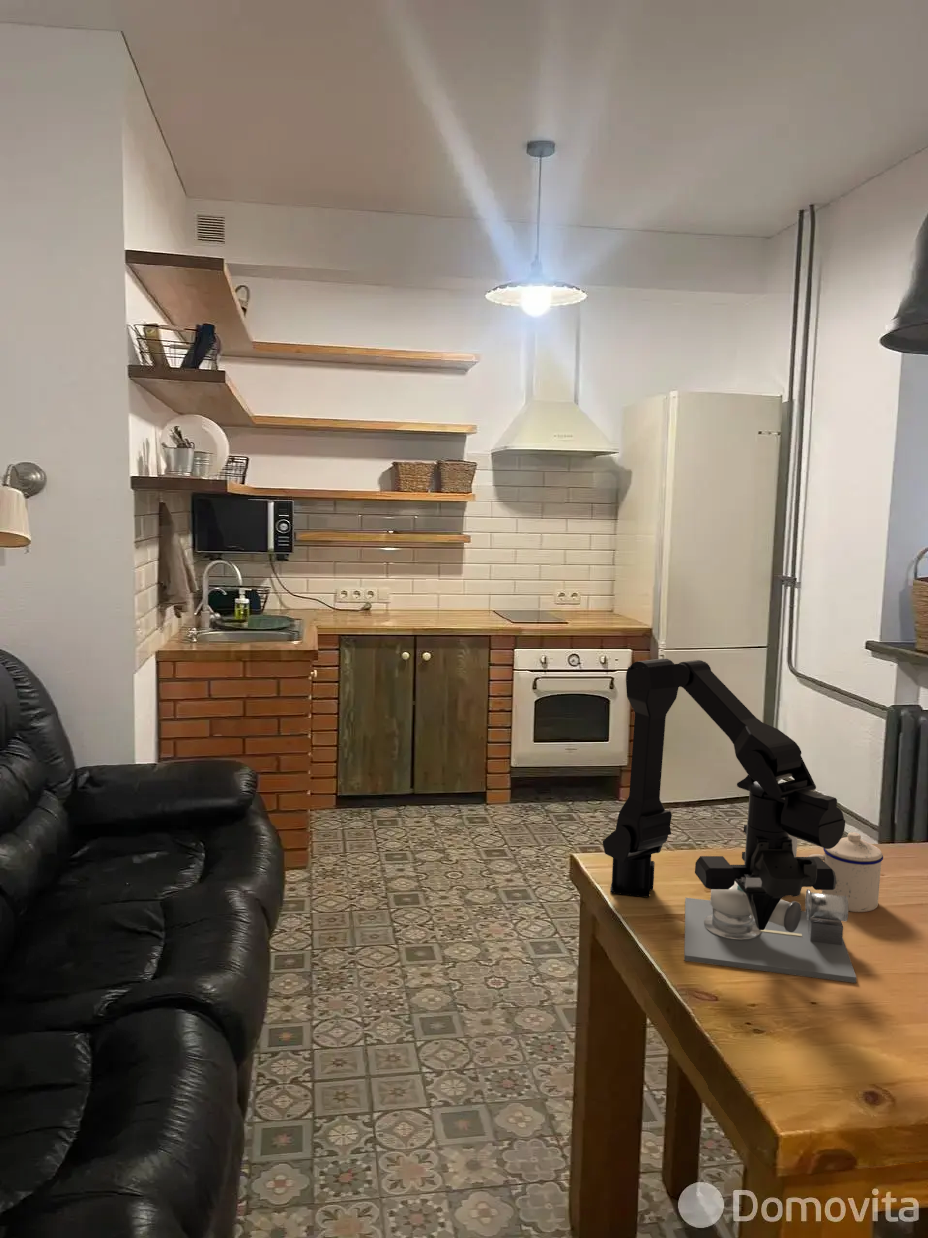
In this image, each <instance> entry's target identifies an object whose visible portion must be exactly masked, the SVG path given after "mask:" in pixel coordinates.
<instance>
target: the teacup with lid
mask: <svg viewBox="0 0 928 1238" xmlns="http://www.w3.org/2000/svg"><path fill="white" fill-rule="evenodd" d="M822 848H823V847H822ZM823 852H824V854H820V853H812V854H810V855H807V857H819V858H820V859H822V860H823V861H824V862H825V863H826V864H827V865H828V866H829V867H830V868H832V870H833V871H834V872H835V875H836V886H835V889H834V890H821V894H830V895H839V896H847V899H848V912H854V913H864V912H865V913H866V912H871V911H875V909H876V908H877V907H878V905H879V893H880V883H881V882H880V881H881V871H882V870H881V869H882V868H881V867H882V861H883V860H884V854H883V852H882V851H881V849H880V848H879V847H877V846H875V845H874V844H872V843H869V842H867V841H866V840H864V839H862V835H861V834H859V833H858V832H854V831H852V832H848V834H847V836H845V837H842V838H841V839H840V841H839V842H838V844H837V845H836V846H834V847H833V848H831V849H825V848H823Z"/></svg>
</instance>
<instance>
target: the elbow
mask: <svg viewBox="0 0 928 1238" xmlns="http://www.w3.org/2000/svg"><path fill="white" fill-rule="evenodd" d="M709 900H710V904H711V906H712V907H713V908H714V909H716V910H718V911H720V912H723V913H726V914H730V915H739V916H743V915H752V916H753V913H752V910H751V906H750V903H749V900H748V897H747V895H746V893H745V892H744V891H743V890H742V889H741V888H740V886H739V885H738V884H737V883H736V882H735V883H734V885H733V886H732V887H731V888H730V889H710V899H709ZM801 911H802V905H801V903H800V902H799V901H796V900H793V901H791V902H789V901H786V900H785V899H781V900H780V901H779V903H778V904H777V906H776V907H775V909H774V911H773V913H772V915H771V917H770V919H769V922H772V923H775V924H777V925H780V926H783V927H785V930H786V931H788V932H794V931H795V930H796V928H797V926H798V924H799V922H800V918H801Z"/></svg>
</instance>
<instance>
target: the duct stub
mask: <svg viewBox="0 0 928 1238" xmlns="http://www.w3.org/2000/svg"><path fill="white" fill-rule="evenodd" d="M704 926H705V928H706V929H707V930H708V931H709V932H711V933H712V934H714V935H717V936H719V937H722V938H726V939H731V940H750V939H754V938H756V937H758V936H759V935H760V933H761V930H759V929H758V928H757V925H756V922H755V921H753V916H752V915H743V916H739V915H730V914H726V913H723V912H720V911H718V910H716V909H714V908H713V912H712V915H709V916H707V917H706V918H705V919H704Z"/></svg>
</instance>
